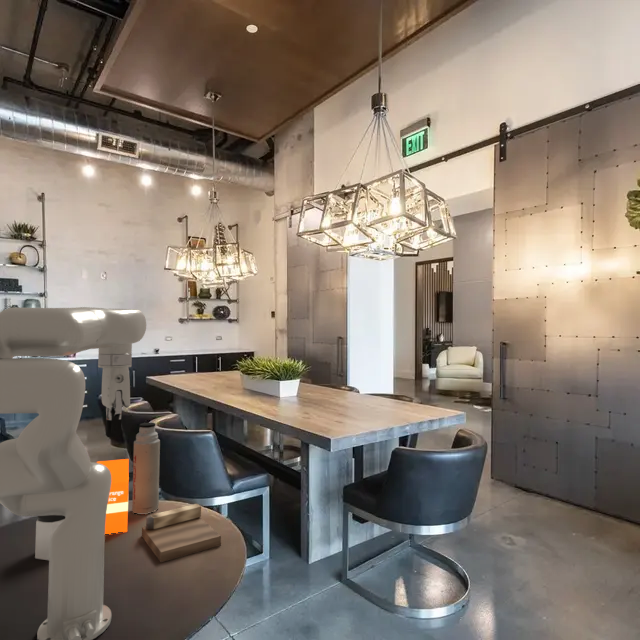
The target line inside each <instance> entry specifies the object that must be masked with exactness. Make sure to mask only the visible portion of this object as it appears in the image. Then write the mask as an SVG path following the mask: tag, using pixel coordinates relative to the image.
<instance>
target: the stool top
mask: <svg viewBox="0 0 640 640" xmlns="http://www.w3.org/2000/svg"><path fill="white" fill-rule="evenodd" d="M221 536H222V535H221V534H220V533H219V532H218V531H216V530H215V529H214V528H213V527H212V526H211V525H210V524H208V522H206V521H205V520H204V519H202V517H198V518H194V519H191V520H187V521H183V522H179V523H175V524H172V525H168V526H164V527H160V528H156V529H152V530H148V529H146V525H145V526H141V537H142V538H143V539H144V541H145V542H146V544H147V546H148V547H149V548H150V549H151V551H152V552H153V554H154V555H155V556H156V558H157V559H158V560H159V562H160V563H164V562H167V561H170V560H174V559H177V558H181V557H184V556H189V555H191V554H195V553H198V552H202V551H205V550H208V549H212V548H216V547H220V546H221V544H222V537H221Z"/></svg>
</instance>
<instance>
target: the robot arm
mask: <svg viewBox="0 0 640 640" xmlns="http://www.w3.org/2000/svg"><path fill="white" fill-rule="evenodd" d="M146 330H147V319H146V316H145V314H144V313H143V312H142V311H141V310H140V309H131V308H102V307H90V306H89V307H87V306H86V307H85V306H84V307H83V306H82V307H81V306H80V307H9V308H6V309H4V310H2V311H0V414H38V415H37V416H35V418H34V419H32V420H31V421H30V422H29V423H28V424H27V425H26V426H25V427H24V428H23V430H22V431H21V432H20V434H19V435H18V437H17V438H12V439H7V440H4V441H1V442H0V504H1V506H3V507H4V508H5V509H6V510H7V511H8V512H10V513H11V514H13V515H16V516H18V517H38V516H47V515H63V516H65V520H64V521H63V522H62V523H61V524H60V525H59V527H58V528H57V529H56V530H55V531H54V533H53V535H52V537H51V540H50V545H49V560H48V587H47V588H48V590H47V591H48V593H47V615H46V616H47V618H46V619H44V621H43V622H42V623H41V624H40V625H39V627H38V629H37V632H36V633H37V635H36V640H94V639H96V638H97V637H99V636H100V635H101V634H103V633H104V632H105V631H106V629H108V627H109V626H110V625H111V623H112V622H111V621H112V610H111V609H110V607H108V606H107V605H105V604H104V587H105V586H104V585H105V584H104V581H105V579H104V578H105V549H106V548H105V544H106V541H105V540H106V535H105V521H106V511H107V505H108V499H109V494H110V489H111V473H110V470H109V469H108V468H107V467H106V466H105V465H103V464H100V463H97V462H95V461H93V462H92V461H91V457H90V455H89V452H88V450H87V449H86V447H85V445H84V443H83V442H82V440H81V438H80V436H79V435H78V433H77V430H78V427H79V424H80V420H81V416H82V412H83V407H84V403H85V402H84V401H85V395H86V394H85V393H86V378H85V377H86V376H85V374H84V372H83V370H82V368H80V366H79V365H77V364H76V363H74V362H72V361H70V360H66V359H58V358H50V357H67V356H71V355H74V354H78V353H81V352H84V351H87V350H94V349H98V356H97V357H98V358H97V367H98V368H101V369H102V374H101V375H102V376H101V403H102V405H103V406H104V407H105V412H106V415H105V416H106V418H105V419H106V420H105V436H106V437H107V438H113V437H120V436H121V434H122V412H123V411H122V410H123V407H125V408H126V409H128V408H129V407H130V406H131V385H130V384H131V381H130V370H129V368H132V365H133V364H132V360H133V359H132V358H133V356H132V355H133V353H132V352H133V350H132V348H133V344H136V343H138V342H140V341H141V340H142V339H143V338H144V336H145V333H146ZM17 357H24V358H17ZM25 357H35V358H25ZM36 357H37V358H36ZM38 357H41V358H38ZM43 357H45V358H43ZM47 357H49V358H47Z"/></svg>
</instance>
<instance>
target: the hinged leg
mask: <svg viewBox="0 0 640 640" xmlns="http://www.w3.org/2000/svg"><path fill="white" fill-rule="evenodd" d="M201 516H202V506H201V505H200V504H198V503H194V504H189V505H186V506H181V507H177V508H174V509H170V510H165V511H162V512H161V511H160V512H157V513H156V512H155V513H151V514H147V516H146V518H145V519H146V520H145V521H146V522H145V526H146V529H148V530H152V529H156V528H160V527H164V526H168V525H172V524H175V523H179V522H183V521H187V520H191V519H194V518H198V517H200V518H202V517H201Z"/></svg>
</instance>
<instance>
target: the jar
mask: <svg viewBox="0 0 640 640" xmlns="http://www.w3.org/2000/svg"><path fill="white" fill-rule="evenodd" d="M64 520H65V516H63V515H47V516H37V520H36V521H35V523H36V524H35V550H34V551H35V552H34V555H35V556H34V558H35V559H36V560H45V561H49V545H50V540H51V537H52V535H53V533H54V531H55V530H56V529H57V528H58V527H59V525H60V524H61V523H62V522H63V521H64Z"/></svg>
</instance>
